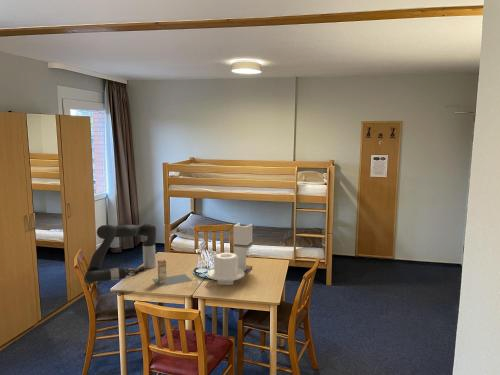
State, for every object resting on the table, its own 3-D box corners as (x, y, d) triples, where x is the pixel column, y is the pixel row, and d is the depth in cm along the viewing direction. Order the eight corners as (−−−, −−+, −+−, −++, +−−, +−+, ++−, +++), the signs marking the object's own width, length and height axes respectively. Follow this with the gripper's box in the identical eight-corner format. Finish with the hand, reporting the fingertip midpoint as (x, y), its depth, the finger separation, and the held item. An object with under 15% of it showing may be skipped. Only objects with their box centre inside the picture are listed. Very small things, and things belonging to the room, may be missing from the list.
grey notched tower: (246, 273, 292) (247, 226, 288) (233, 271, 296) (233, 225, 291) (252, 268, 302) (252, 223, 298) (239, 267, 306) (239, 222, 302)
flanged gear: (245, 276, 285) (245, 250, 283) (242, 289, 261) (242, 261, 258) (211, 275, 287) (210, 250, 285) (205, 288, 262) (204, 260, 260)
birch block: (158, 281, 273) (157, 260, 272) (164, 280, 276) (164, 259, 274) (160, 283, 269) (159, 262, 268) (166, 282, 272) (166, 261, 270)
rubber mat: (152, 280, 277) (152, 279, 277) (184, 274, 289) (184, 273, 288) (158, 287, 263) (158, 286, 263) (192, 281, 275) (192, 280, 275)
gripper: (119, 270, 251) (146, 266, 259) (115, 265, 263) (141, 261, 271) (119, 282, 252) (146, 278, 260) (115, 276, 263) (142, 272, 272)
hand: (144, 269), depth 265 cm, fingers closed
